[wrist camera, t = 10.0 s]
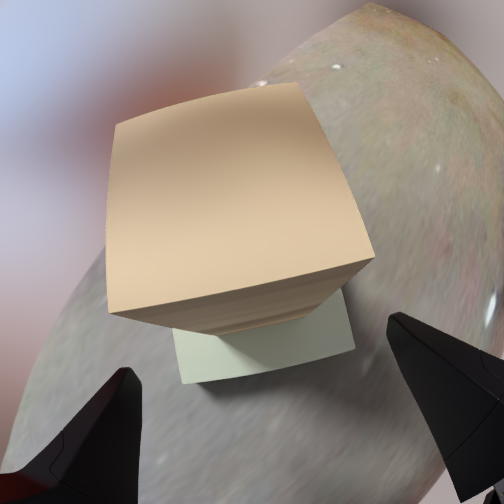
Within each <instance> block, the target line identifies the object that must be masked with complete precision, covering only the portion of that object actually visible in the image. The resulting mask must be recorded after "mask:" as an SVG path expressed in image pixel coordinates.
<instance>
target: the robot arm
mask: <svg viewBox="0 0 504 504" xmlns="http://www.w3.org/2000/svg"><path fill="white" fill-rule="evenodd" d="M386 335H387V339H388V341H389V344H390V346H391V349H392V351H393V353H394V356H395V358H396V361H397V363H398V366H399V368H400V371H401V373H402V375H403V377H404V379H405V381H406V383H407V385H408V386H409V388H410V390H411V392H412V394H413V396H414V398H415V400H416V402H417V404H418V406H419V408H420V410H421V412H422V414H423V416H424V418H425V420H426V422H427V424H428V426H429V429H430V431H431V433H432V435H433V437H434V439H435V442H436V444H437V446H438V448H439V451H440V453H441V455H442V457H443V460H444V461H445V465H446V467H447V470H448V472H449V475H450V477H451V480H452V482H453V485H454V487H455V490H456V493H457V495H458V498H459V500H460V503H462V502H464V501H466V500H468V499H470V498H472V497H474V496H476V495H478V494H479V493H481V492H483V491H484V490H486V489H488V488H489V487H491V486H494V489H493V490H492V491H490V492H489V493H488V494H487V495H486V497H485V500H484V503H483V504H504V360H502V359H499V358H497V357H495V356H493V355H490V354H488V353H486V352H484V351H482V350H479V349H478V348H476V347H474V346H471V345H469V344H467V343H465V342H463V341H461V340H459V339H457V338H455V337H453V336H451V335H449V334H446V333H444V332H442V331H440V330H438V329H436V328H434V327H432V326H430V325H428V324H425V323H423V322H421V321H419V320H417V319H415V318H413V317H411V316H408V315H406V314H404V313H402V312H397V313H394V314H391V315H390V316H389V318H388V324H387V331H386ZM141 431H142V384H141V381H140V380H139V378H138V377H137V375H136V374H135V372H134V371H133V370H132V368H130V367H121V368H119V369H118V370H117V371H116V372H115V373H114V374H113V375H112V376H111V378H110V379H109V380H108V381H107V382H106V383H105V384H104V385H103V386H102V387H101V388H100V389H99V390H98V391H97V393H96V394H95V395H94V396H93V397H92V398H91V399H90V400H89V401H88V402H87V403H86V404H85V406H84V407H83V408H82V409H81V410H80V411H79V412H78V413H77V414H76V415H75V416H74V417H73V419H72V420H71V421H70V422H69V423H68V424H67V425H66V426H65V427H64V428H63V430H62V431H61V432H60V433H59V434H58V435H57V436H56V437H55V438H54V439H53V440H52V441H51V442H50V443H49V444H48V445H47V446H46V447H45V448H44V449H43V450H42V451H41V452H40V453H39V454H38V455H37V456H36V457H35V458H34V459H32V460H31V461H30V462H29V463H28V464H27V465H26V466H25V467H24V468H22V469H21V470H19V471H17V472H13V473H5V474H0V504H138V476H139V456H140V442H141Z"/></svg>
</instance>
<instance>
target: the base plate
mask: <svg viewBox="0 0 504 504" xmlns="http://www.w3.org/2000/svg"><path fill="white" fill-rule="evenodd" d="M172 329H173V336H174V342H175V348H176V354H177V359H178V365H179V370H180V375H181V380H182V384H189V383H198V382H206V381H213V380H220V379H227V378H234V377H240V376H246V375H251V374H257V373H262V372H267V371H272V370H277V369H281V368H286V367H290V366H295V365H299V364H303V363H307V362H311V361H315V360H319V359H323V358H326V357H330V356H334V355H337V354H341V353H344V352H347V351H351V350H354V349H356V348H355V343H354V339H353V335H352V330H351V326H350V322H349V318H348V314H347V310H346V306H345V302H344V298H343V294H342V290H341V288H340V289H338V290H337V291H336V292H335V293H334V294H333V295H331V296H330V297H329V298H328V299H327V300H325V301H324V302H323V303H322V304H321V305H319V306H318V307H317V308H316V309H314V310H313V311H312V312H311V313H309V314H308V315H307V316H306V317H304V318H300V319H296V320H292V321H287V322H283V323H279V324H274V325H270V326H265V327H261V328H256V329H251V330H246V331H241V332H236V333H231V334H225V335H220V336H213V335H207V334H201V333H196V332H190V331H185V330H180V329H175V328H172Z"/></svg>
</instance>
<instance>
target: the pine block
mask: <svg viewBox="0 0 504 504" xmlns="http://www.w3.org/2000/svg"><path fill="white" fill-rule="evenodd" d="M373 258H375V254H374V251H373V248H372V246H371V243H370V240H369V237H368V234H367V231H366V229H365V226H364V223H363V220H362V218H361V215H360V213H359V210H358V207H357V205H356V202H355V200H354V197H353V195H352V193H351V190H350V188H349V185H348V183H347V181H346V178H345V176H344V174H343V171H342V169H341V167H340V165H339V163H338V160H337V158H336V156H335V154H334V152H333V150H332V148H331V145H330V143H329V141H328V139H327V137H326V135H325V133H324V131H323V129H322V127H321V125H320V123H319V121H318V119H317V118H316V116H315V114H314V112H313V110H312V108H311V106H310V104H309V103H308V101H307V99H306V97H305V95H304V94H303V92H302V90H301V88H300V87H299V85H298V83H297V82H294V83H284V84H276V85H268V86H261V87H254V88H248V89H242V90H237V91H232V92H226V93H222V94H217V95H213V96H208V97H203V98H200V99H195V100H192V101H187V102H184V103H180V104H176V105H173V106H169V107H166V108H163V109H160V110H156V111H153V112H150V113H147V114H144V115H141V116H138V117H135V118H133V119H130V120H127V121H124V122H122V123H119V124H117V125H116V129H115V135H114V142H113V148H112V156H111V164H110V175H109V185H108V197H107V215H106V279H107V297H108V310H109V313H110V314H114V315H117V316H121V317H125V318H129V319H134V320H138V321H142V322H146V323H151V324H156V325H160V326H165V327H170V328H175V329H180V330H185V331H190V332H196V333H201V334H207V335H213V336H220V335H225V334H231V333H236V332H241V331H246V330H251V329H256V328H261V327H265V326H270V325H274V324H279V323H283V322H287V321H292V320H296V319H300V318H304V317H306V316H307V315H308V314H309V313H311V312H312V311H313V310H314V309H316V308H317V307H318V306H319V305H321V304H322V303H323V302H324V301H325V300H327V299H328V298H329V297H330V296H331V295H333V294H334V293H335V292H336V291H337V290H338V289H340V288H341V287H342V286H343V285H344V284H345V283H347V282H348V281H349V280H350V279H351V278H352V277H353V276H355V275H356V274H357V273H358V272H359V271H360V270H361V269H362V268H364V267H365V266H366V265H367V264H368V263H369V262H370V261H371V260H372V259H373Z"/></svg>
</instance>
